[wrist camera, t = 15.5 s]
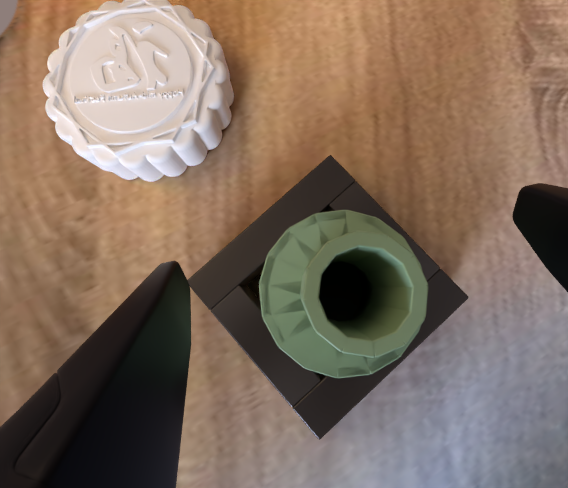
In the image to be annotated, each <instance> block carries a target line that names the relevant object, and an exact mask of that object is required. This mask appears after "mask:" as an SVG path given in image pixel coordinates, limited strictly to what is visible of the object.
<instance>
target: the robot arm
mask: <svg viewBox="0 0 568 488" xmlns="http://www.w3.org/2000/svg"><path fill="white" fill-rule="evenodd" d="M513 221H514V223H515V225H516V226H517V227H518V229H519V230H520V232H521V233H522V234H523V236H524V237H525V239H526V240H527V241H528V243H529V244H530V246H531V247H532V249H533V250H534V251H535V253H536V254H537V256H538V257H539V258H540V260H541V261H542V263H543V264H544V265H545V267H546V268H547V269H548V270H549V271H550V273H551V274H552V275H553V276H554V277H555V278H556V280H557V281H558V282H559V283H560V284H561V285H562V286H563V288H564V289H565V290H566V291H567V292H568V188H563V187H558V186H553V185H548V184H543V183H538V184H533V185H529V186H525V187H523V188H522V189H521V190H520V192H519V194H518V198H517V201H516V204H515V208H514V211H513ZM190 349H191V304H190V287H189V283H188V281H187V279H186V277H185V275H184V273H183V271H182V269H181V267H180V265H179V263H178V262H176V261H171V262H166V263H162V264H160V265H159V266H158V267H157V268H156V269H155V270H154V271H153V272H152V273H151V274H150V275H149V276H148V277H147V278H146V279H145V280H144V281H143V282H142V283H141V284H140V285H139V286H138V287H137V288H136V290H135V291H134V292H133V293H132V294H131V295H130V296H129V297H128V298H127V299H126V300H125V301H124V302H123V303H122V304H121V305H120V306H119V307H118V308H117V309H116V310H115V311H114V312H113V313H112V314H111V315H110V316H109V317H108V318H107V320H106V321H105V322H104V323H103V324H102V325H101V326H100V327H99V328H98V329H97V330H96V331H95V332H94V333H93V334H92V335H91V336H90V337H89V338H88V339H87V340H86V341H85V342H84V343H83V344H82V345H81V346H80V347H79V348H78V349H77V351H76V352H75V353H74V354H73V355H72V356H71V357H70V358H69V359H68V360H67V361H66V362H65V363H64V364H63V365H62V366H61V367H60V368H59V369H58V371H57V373H54V374H53V375H52V376H51V377H50V378H49V379H48V380H47V381H46V383H45V384H44V385H43V386H42V387H41V388H40V389H39V390H38V391H37V392H36V393H35V394H34V395H33V396H32V397H31V398H30V399H29V400H28V401H27V402H26V403H25V404H24V405H23V406H22V407H21V408H20V409H19V410H18V411H17V412H16V413H15V414H14V415H13V416H12V417H10V418H9V419H8V420H7V421H6V422H5V423H4V424H3V425H2V426H1V427H0V488H176V481H177V471H178V462H179V453H180V443H181V434H182V425H183V415H184V406H185V396H186V387H187V378H188V368H189V359H190Z"/></svg>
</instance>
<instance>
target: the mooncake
mask: <svg viewBox="0 0 568 488" xmlns="http://www.w3.org/2000/svg"><path fill="white" fill-rule="evenodd" d="M47 64H48V69H49V71H50V73H48V74H47V75H46V77H45V78H44V81H43V90H44V92H45V94H46V95H47V96H48V97H49V98H48V100H47V102H46V112H47V115H48V116H49V117H50V118H51V119H52V120H53V121H55V122H56V125H55V128H56V132H57V134H58V136H59V137H60V138H61V139H62V140H64V141H65V142H67V143H69V144H70V145H72V146H73V149H74V150H75V152H76V153H77V154H79V155H80V156H82V157H83V158H85V159H86V160H88V161H90V162H91V163H93V164H94V165H96V166H98V167H99V168H101V169H103V170H105V171H112V172H113V173H115V174H117V175H118V176H120V177H121V178H123V179H127V180H132V179H135V178H137V177H140V178H142V179H143V180H145V181H149V182H153V181H157V180H159V179H160V178H162V177H163V175H166V176H169V177H176V176H179V175H181V174H182V173H183V172H184V171H185V170H186V168H187V166H188V165H189V166H195V165H198V164H200V163H202V162H203V161H204V159H205V158H206V155H207V150H211V149H214V148H215V147H217V146H218V145H219V144H220V142H221V140H222V131H221V130H223V129H225V128H226V127H227V126H228V125H229V123H230V121H231V111H230V108H229V107H230V105H231V104H232V103H233V100H234V92H233V89H232V86H231V82H230V73H229V70H228V66H227V63H226V60H225V56H224V53H223V50H222V47H221V45H220V43H219V42H218V41H217V40H215V39H214V38H213V35H212V32H211V29H210V27H209V26H208V24H207V23H206V22H204V21H203V20H201V19H195V18H194V15H193V13H192V12H191V10H190V9H188V8H187V7H185V6H182V5H175V6H172V5H171V4H170V2H169V1H167V0H123V2H122V3H119V2H117V1H108V2H105V3H103V4H102V5H101V6H100V7H99V8H98V10H95V11H90V12H87V13H84V14H83V15H81V16H80V17H79V18H78V20H77V22H76V26H74V27H72V28H69V29H68V30H66V31H65V32H63V34H62V35H61V36H60V39H59V49H56V50H55V51H53V52H52V53H51V54H50V56H49V58H48V62H47Z"/></svg>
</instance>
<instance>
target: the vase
mask: <svg viewBox="0 0 568 488" xmlns="http://www.w3.org/2000/svg"><path fill="white" fill-rule="evenodd" d="M259 293H260V302H261V312H262V317H263V320H264V322H265V324H266V326H267V327H268V329H269V331H270V333H271V335H272V337H273V339H274V340H275V342H276V344H277V346H279V348H280V349H281V350H282V351H283V352H285V353H286V354H287V355H288V356H290V357H291V358H292V359H293V360H294V361H296V362H297V363H298V364H299V365H301V366H302V367H303V368H305V369H307V370H310V371H314V372H317V373H320V374H324V375H327V376H330V377H334V378H346V377H354V376H363V375H370V374H373V373H374V372H376V371H378V370H380V369H381V368H383V367H385V366H386V365H388V364H390V363H392V362H393V361H395V360H397V359H398V358H399V357H401V355H402V354H403V353H404V351H405V350H406V349H407V347H408V346H409V344H410V343H411V342H412V340H413V339H414V338H415V336H416V335H417V333H418V332H419V330H420V326H421V324H422V323H423V321H424V320H425V317H426V310H427V299H428V282H427V280H426V278H425V276H424V274H423V271H422V267H421V264H420V262H419V261H418V259H417V258H416V256H415V254H414V253H413V251H412V250H411V248H410V246H409V245H408V243H407V242H406V240H405V238H403V236H402V235H400V234H399V233H398V232H396V231H395V230H393V229H392V228H391V227H389V226H388V225H387V224H385V223H384V222H383V221H381V220H380V219H379V218H376V217H373V216H369V215H366V214H362V213H358V212H354V211H350V210H338V211H330V212H321V213H316V214H313V215H311V216H309V217H307V218H306V219H304V220H302V221H300V222H298V223H297V224H295V225H293V226H291V227H289V228H288V229H287V230H286V231H285V232H284V233H283V235H282V236H281V237H280V239H279V240H278V241H277V242H276V244H275V245H274V246H273V247H272V249H271V250H270V251H269V252H268V254H267V257H266V261H265V264H264V268H263V271H262V274H261V278H260V281H259Z"/></svg>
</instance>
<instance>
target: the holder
mask: <svg viewBox="0 0 568 488" xmlns="http://www.w3.org/2000/svg"><path fill="white" fill-rule="evenodd" d="M338 210H350V211H354V212H358V213H362V214H366V215H369V216H373V217H376V218H379V219H380V220H381V221H383V222H384V223H385V224H387V225H388V226H389V227H391V228H392V229H393V230H395V231H396V232H398V233H399V234H400V235H402V236H403V238H405V240H406V242H407V243H408V245H409V246H410V248H411V250H412V251H413V253H414V254H415V256H416V258H417V259H418V261H419V262H420V264H421V267H422V271H423V274H424V276H425V278H426V280H427V282H428V299H427V310H426V317H425V320H424V321H423V323H422V324H421V326H420V330H419V332H418V333H417V335H416V336H415V338H414V339H413V340H412V342H411V343H410V344H409V346H408V347H407V349H406V350H405V351H404V353H403V354H402V355H401V357H399V358H398V359H397V360H395V361H393V362H392V363H390V364H388V365H386V366H385V367H383V368H381V369H380V370H378V371H376V372H374V373H373V374H370V375H363V376H354V377H346V378H334V377H330V376H327V375H324V374H320V373H317V372H314V371H310V370H307V369H305V368H303V367H302V366H301V365H299V364H298V363H297V362H296V361H294V360H293V359H292V358H291V357H290V356H288V355H287V354H286V353H285V352H283V351H282V350H281V349H280V348H279V346H277V344H276V342H275V340H274V339H273V337H272V335H271V333H270V331H269V329H268V327H267V326H266V324H265V322H264V320H263V317H262V312H261V302H260V300H259V299H258V298H257V296H256V295H255V294H254V293H253V292H252V291H251V290H250V288H249V287H248V286H246V285H247V284H248V283H250V282H251V281H252V280H253V279H254V278H255V277H256V276H257V275H259V274H260V273H261V272H262V271H263V268H264V264H265V261H266V257H267V254H268V252H269V251H270V250H271V249H272V247H273V246H274V245H275V244H276V242H277V241H278V240H279V239H280V237H281V236H282V235H283V233H284V232H285V231H286V230H287V229H288V228H289V227H291V226H293V225H295V224H297V223H298V222H300V221H302V220H304V219H306V218H307V217H309V216H311V215H313V214H316V213H321V212H330V211H338ZM187 281H188V283H189V286H190V287H191V288H192V290H193V291H194V292H195V293H196V294H197V295H198V297H199V298H200V299H201V300H202V301H203V303H204V304H205V305H206V306H207V307H208V309H209V310H211V312H212V313H213V314H214V316H215V317H216V318H217V319H218V320H219V322H220V323H221V324H222V325H223V326H224V328H225V329H226V330H227V331H228V332H229V333H230V335H231V336H232V337H233V338H234V339H235V341H236V342H237V343H238V344H239V345H240V347H241V348H242V349H243V350H244V351H245V353H246V354H247V355H248V356H249V357H250V358H251V360H252V361H253V362H254V363H255V364H256V366H257V367H258V368H259V369H260V370H261V372H262V373H263V374H264V375H265V376H266V378H267V379H268V380H269V381H270V382H271V383H272V385H273V386H274V387H275V388H276V389H277V391H278V392H279V393H280V394H281V395H282V397H283V398H284V399H285V400H286V401H287V402H288V404H289V405H290V406H291V407H293V410H294V411H295V412H296V413H297V414H298V416H299V417H300V418H301V419H302V420H303V422H304V423H305V424H306V425H307V426H308V427H309V429H310V430H311V431H312V432H313V433H314V435H315V436H316V437H317V438H318V439H321V438H322V437H323V436H324V435H325V434H326V433H327V432H328V431H329V430H330V429H331V428H333V427H334V426H335V425H336V424H337V423H338V422H339V421H340V420H341V419H342V418H343V417H344V416H345V415H346V414H347V413H348V412H349V411H350V410H351V409H352V408H354V407H355V406H356V405H357V404H358V403H359V402H360V401H361V400H362V399H363V398H364V397H365V396H366V395H367V394H368V393H369V392H370V391H371V390H372V389H373V388H375V387H376V386H377V385H378V384H379V383H380V382H381V381H382V380H383V379H384V378H385V377H386V376H387V375H388V374H389V373H390V372H391V371H392V370H393V369H394V368H396V367H397V366H398V365H399V364H400V363H401V362H402V361H403V360H404V359H405V358H406V357H407V356H408V355H409V354H410V353H411V352H412V351H413V350H414V349H415V348H417V347H418V346H419V345H420V344H421V343H422V342H423V341H424V340H425V339H426V338H427V337H428V336H429V335H430V334H431V333H432V332H433V331H434V330H435V329H436V328H438V327H439V326H440V325H441V324H442V323H443V322H444V321H445V320H446V319H447V318H448V317H449V316H450V315H451V314H452V313H453V312H454V311H455V310H456V309H457V308H459V307H460V306H461V305H462V304H463V303H464V302H465V301H466V300H467V299H468V296H467V295H466V294H465V293H464V292H463V291H462V290H461V289H460V288H459V287H458V286H457V285H456V284H455V283H454V282H453V281H452V280H451V278H450V277H449V276H448V275H447V274H446V273H445V272H444V271H443V270H442V269H440V267H439V266H438V265H437V264H436V263H435V262H434V261H433V260H432V259H431V258H430V257H429V256H428V255H427V254H426V253H425V252H424V251H423V250H422V249H421V248H420V247H419V246H418V245H417V244H416V242H415V241H414V240H413V239H412V238H411V237H410V236H409V235H408V234H407V233H406V232H405V231H404V230H403V229H402V228H401V227H400V226H399V225H398V224H397V223H396V222H395V221H394V220H393V219H392V218H391V217H390V216H389V215H388V214H387V213H386V212H385V211H384V210H383V209H382V208H381V206H380V205H379V204H378V203H377V202H376V201H375V200H374V199H373V198H372V197H371V196H370V195H369V194H368V193H367V192H366V191H365V190H364V189H363V188H362V187H361V186H360V185H359V184H358V183H357V182H356V181H355V180H354V179H353V178H352V177H351V175H350V174H349V173H348V172H347V171H346V170H345V169H344V168H343V167H342V166H341V165H340V164H339V163H338V162H337V161H336V160H335V159H334V158H333V157H332V156H331V155H330V156H328V157H327V158H326V159H325V160H324V161H323V162H321V163H320V164H319V165H318V166H317V167H316V168H315V169H313V170H312V171H311V172H310V173H309V174H308V175H307V176H306V177H304V178H303V179H302V180H301V181H300V182H299V183H298V184H296V185H295V186H294V187H293V188H292V189H291V190H290V191H288V192H287V193H286V194H285V195H284V196H283V197H282V198H280V199H279V200H278V201H277V202H276V203H275V204H274V205H272V206H271V207H270V208H269V209H268V210H267V211H266V212H265V213H263V214H262V215H261V216H260V217H259V218H258V219H257V220H255V221H254V222H253V223H252V224H251V225H250V226H249V227H247V228H246V229H245V230H244V231H243V232H242V233H241V234H239V235H238V236H237V237H236V238H235V239H234V240H233V241H231V242H230V243H229V244H228V245H227V246H226V247H225V248H224V249H222V250H221V251H220V252H219V253H218V254H217V255H216V256H214V257H213V258H212V259H211V260H210V261H209V262H208V263H206V264H205V265H204V266H203V267H202V268H201V269H200V270H198V271H197V272H196V273H195V274H194V275H193V276H192V277H190V278H189V279H188V280H187Z"/></svg>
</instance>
